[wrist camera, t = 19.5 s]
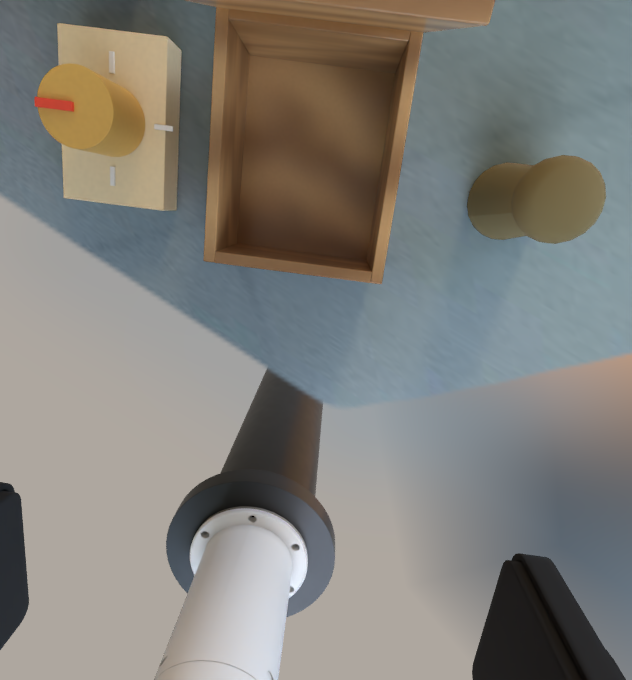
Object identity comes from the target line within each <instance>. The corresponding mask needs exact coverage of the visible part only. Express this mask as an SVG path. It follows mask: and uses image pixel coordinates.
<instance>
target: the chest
mask: <svg viewBox="0 0 632 680" xmlns="http://www.w3.org/2000/svg"><path fill="white" fill-rule="evenodd" d="M422 38H423V33H422V32H414V31H406V30H398V29H390V28H382V27H374V26H365V25H357V24H349V23H341V22H333V21H325V20H317V19H308V18H300V17H292V16H284V15H276V14H268V13H260V12H251V11H243V10H235V9H227V8H219V7H216V22H215V42H214V62H213V82H212V102H211V122H210V142H209V162H208V182H207V202H206V222H205V242H204V261H206V262H215V263H221V264H229V265H236V266H244V267H252V268H259V269H267V270H275V271H282V272H290V273H298V274H305V275H313V276H321V277H328V278H336V279H344V280H351V281H359V282H367V283H370V282H371V283H375V284H382V279H383V273H384V267H385V261H386V255H387V249H388V243H389V237H390V231H391V225H392V219H393V213H394V207H395V201H396V195H397V189H398V183H399V177H400V171H401V165H402V159H403V153H404V147H405V141H406V135H407V129H408V123H409V117H410V111H411V105H412V99H413V93H414V86H415V80H416V74H417V68H418V62H419V56H420V50H421V44H422Z"/></svg>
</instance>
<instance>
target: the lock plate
mask: <svg viewBox="0 0 632 680" xmlns="http://www.w3.org/2000/svg"><path fill="white" fill-rule="evenodd" d="M57 29H58V56H59V65H62V64H68V63H71V64H79V65H82V66H85V67H86V68H88V69H90V70H92V71H94V72H96V73H98V74H99V75H101V76H103V77H105V78H107V79H109V80H110V81H112V82H114V83H116V84H118V85H119V86H121V87H123V88H125V89H126V90H128V91H129V92H130V93H131V94H133V96H134V97H135V98H136V99H137V101H138V102H139V104H140V106H141V108H142V110H143V113H144V118H145V132H144V136H143V139H142V141H141V143H140V144H139V146H138V147H137V148H136V149H135V150H134V151H133V152H132V153H130V154H128V155H126V156H122V157H111V156H106V155H101V154H97V153H92V152H87V151H83V150H78V149H74V148H70V147H67V146H65V145H63V144H62V162H63V189H64V198H68V199H76V200H83V201H91V202H99V203H107V204H114V205H122V206H130V207H138V208H145V209H153V210H161V211H174V210H177V179H178V147H179V115H180V84H181V52H182V51H181V50H180V49H179V48H178V47H177V46H176V45H175V44H174V43H173V42H172V41H171V40H170V39H169V38H168V37H166V36H158V35H150V34H142V33H134V32H126V31H118V30H110V29H102V28H94V27H86V26H78V25H70V24H62V23H57Z"/></svg>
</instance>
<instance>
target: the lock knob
mask: <svg viewBox="0 0 632 680" xmlns="http://www.w3.org/2000/svg"><path fill="white" fill-rule="evenodd" d="M35 106H36V107H38V112H39V115H40V118H41V121H42V123H43V125H44V126H45V128H46V129H47V131H48V132H49V133H50V135H51V136H52V137H53V138H55V139H56V140H57V141H58V142H60V143H61V144H63V145H65V146H67V147H70V148H74V149H78V150H83V151H87V152H92V153H97V154H101V155H106V156H111V157H122V156H126V155H128V154H130V153H132V152H133V151H134V150H135V149H136V148H137V147H138V146H139V144H140V143H141V141H142V139H143V136H144V132H145V118H144V113H143V110H142V108H141V106H140V104H139V102H138V101H137V99H136V98H135V97H134V96H133V94H131V93H130V92H129V91H128V90H126V89H125V88H123V87H121V86H119V85H118V84H116V83H114V82H112V81H110V80H109V79H107V78H105V77H103V76H101V75H99V74H98V73H96V72H94V71H92V70H90V69H88V68H86V67H85V66H82V65H79V64H71V63H68V64H62V65H59V66H56V67H54V68H53V69H51V70H50V71H49V72H48V73H47V74H46V75H45V76H44V78H43V79H42V81H41V83H40V86H39V89H38V94H37V97H35Z"/></svg>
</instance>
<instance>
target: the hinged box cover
mask: <svg viewBox="0 0 632 680" xmlns="http://www.w3.org/2000/svg"><path fill="white" fill-rule="evenodd" d="M186 1H190V2H195V3H199V4H204V5H208V6H213V7H219V8H227V9H235V10H243V11H251V12H260V13H268V14H276V15H284V16H292V17H300V18H308V19H317V20H325V21H333V22H341V23H349V24H357V25H365V26H374V27H382V28H390V29H398V30H406V31H414V32H422V33H424V32H433V31H442V30H451V29H460V28H468V27H477V26H486V25H488V24H489V22H490V18H491V15H492V11H493V7H494V3H495V0H186Z"/></svg>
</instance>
